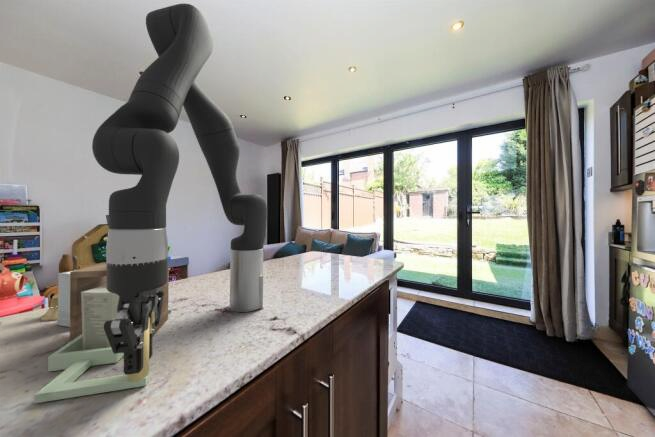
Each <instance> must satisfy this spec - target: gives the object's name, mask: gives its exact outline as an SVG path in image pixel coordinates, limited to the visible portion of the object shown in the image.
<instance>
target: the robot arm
mask: <svg viewBox="0 0 655 437" xmlns="http://www.w3.org/2000/svg"><path fill="white" fill-rule="evenodd" d="M145 26H146V31H147V33H148V36H149V38H150V41H151V43H152V46H153V48H154V50H155V53H156V54H157V56H158V57H157V58H156V59H155V60H154V61H153V62H152V63H150V64H149V65H148V66H147V67H146V68H145V70H143V72H141V74H140V76H139V78H138V79H137V81H136V83H135V85H134V87H133V89H132V91H131V94H130V96H129V98H128V100H127V101H126V102H125V103H124V104H123V105H121V106H120V107H118V108H117V109H116V110H115V111H114V112H113V113H112V114H111V115H110V116H108V118H106V119H105V120H104V121H103V122H102V123H101V124H100V126H99V127H98V128H97V130H96V131H95V132H94V136H93V138H92V145H91V147H92V148H91V150H92V154H93V157H94V158H95V160H96V162H97V164H98V165H99V166H100V167H102V169H104V170H106V171H108V172H110V173H112V174H117V175H136V176H138V175H140V176H141V177H140V179H139V180H138V182H137V184H136V185H135V186H133V187H130V188H124V189H119V190H116V191H113V192H112V193H111V194H110V195H109V199H108V234H107V238H106V247H105V248H106V249H105V250H106V251H105V252H106V256H105V257H106V285H107V290H108V291H109V292H111V293H115V294H117V295H118V296H119V301H118V306H117V316H116V318H115V319H114V320H108V321H106V322H105V324H104V331H105V333H106V336H107V338H108V341H109V343H110V346H111V348H112V351H113V353H114V354H116V353H124V356H123V375H125V374H126V375H128V374H135V373H139V372H140V371H141V370H142V369H143V344H144V332H145V331H146V330H147V329H148V324H149V317H150V328H149V360H150V359H151V358H152V356H153V337H152V335H153V334H154V333H155V326H158V325H159V320H160V314H161V308H162V302H163V296H164V291H157V288H159V287H162V286H163V285H165V284H166V283H167V281H168V260H169V242H168V241H169V239H168V234H167V202H168V199H169V195H170V192H171V189H172V188H171V187H172V185H173V181H174V179H175V176H176V173H177V170H178V167H179V162H180V151H179V147H178V145H177V143H176V141H175V139H174V138H173V136H172V135H171V134H169V133H171V132H173V131H174V130H175V129H176V127H177V124H178V122H179V119H180V116H181V112H182V110H183V108H184V111H185V113H186V116H187V118H188V120H189V124H190V125H191V127H192V128H191V129H192V131H193V133H194V135H195V136H194V137H195V138H196V141H197V144H198V145H199V148H200V150H201V152H202V154H203V156H204V159H205V161H206V163H207V166H208V168H209V170H210V173H211V174H210V175H211V176H212V179H213V182H214V183H215V186H216V190H217V193H218V196H219V199H220V203H221V206H222V209H223V213H224V215H225V217H226V219H227V220H228V222H230V224H232V225H236V226H243V232H242V233H241V234H240V235H239V236H237V237H234V238H232V239H231V240H230V254H229V256H230V259H229V261H230V264H229V268H230V269H229V270H230V271H229V309H230V310H231V311H232V312H236V313H237V312H238V313H248V312H252V311H256V310H260V309H263V308H264V306H263V305H264V243H265V240H266V235H267V223H268V222H267V220H268V207H267V201H266V200H265V198H264V197H263V196H262V195H260V194H243V193H242V191H241V188H240V187H239V183H238V178H237V169H238V163H239V158H240V144H239V140H238V138H237V135H236V132H235V129H234V126H233V125H234V124H233V123H232V121H231V119H230V118H229V117H228V115H227V114H226V113H225V112H224V111H223V109H222V108H220V106H218V104H216V103H215V102H214V101H213V100H212V99H211V98H210V97H209V96H208V94H206V93H205V92H204V90H203V89H202V88H201V86H199V84H198V82H197V80H196V78H197V76H198V75H199V73H201V70H202V68H203V67H204V65H205V64H206V62H207V61H208V59H209V58H210V56H211V55H212V53H213V49H214V39H213V38H214V37H213V34H212V31H211V28H210V26H209V23H208V21H207V20H206V19H205V16H204V15H203V13H202V12H201V11H200V10H199V9H198V8H197V7H196V6H195V5H192V4H191V3H177V4H173V5H169V6H166V7H161V8H158V9H155V10H152V11H150V12H148V13H147V14H146V16H145ZM132 325H141V326H137V327H132ZM135 334H137V339H136V336H135Z"/></svg>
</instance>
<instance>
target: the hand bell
mask: <svg viewBox="0 0 655 437" xmlns="http://www.w3.org/2000/svg"><path fill="white" fill-rule="evenodd" d="M73 268H74V263H73V259H72V258H71V254H69V253H67V254H66V253H65V254H62V256H61V259H60V260H59V262H58V274H59V273H64V272H70V271H74V270H73ZM56 306H57V307H56ZM51 307H53V308H51ZM40 321H44V322H47V321H49V322H50V321H58V293H55V294H54V295H53V296H52V298H51V303H50V305H49V307H48V309H47V311H45V313H44V314H42V315H41V317H40Z"/></svg>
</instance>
